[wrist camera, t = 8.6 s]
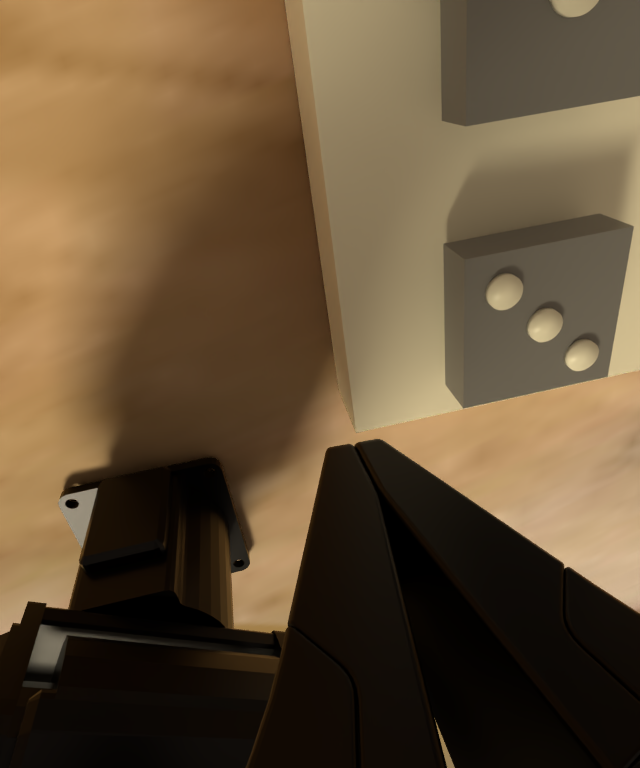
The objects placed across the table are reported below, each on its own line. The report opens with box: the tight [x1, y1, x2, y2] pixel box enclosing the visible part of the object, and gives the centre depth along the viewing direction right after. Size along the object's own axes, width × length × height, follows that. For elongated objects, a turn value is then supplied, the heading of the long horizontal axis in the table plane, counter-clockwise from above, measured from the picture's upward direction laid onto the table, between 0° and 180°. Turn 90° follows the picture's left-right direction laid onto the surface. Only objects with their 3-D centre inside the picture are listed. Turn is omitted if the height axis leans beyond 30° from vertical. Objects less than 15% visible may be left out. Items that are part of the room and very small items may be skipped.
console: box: [284, 0, 640, 433], centre depth 14 cm, size 24×11×3 cm, turn 8°
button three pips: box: [443, 213, 634, 409], centre depth 16 cm, size 5×5×2 cm
